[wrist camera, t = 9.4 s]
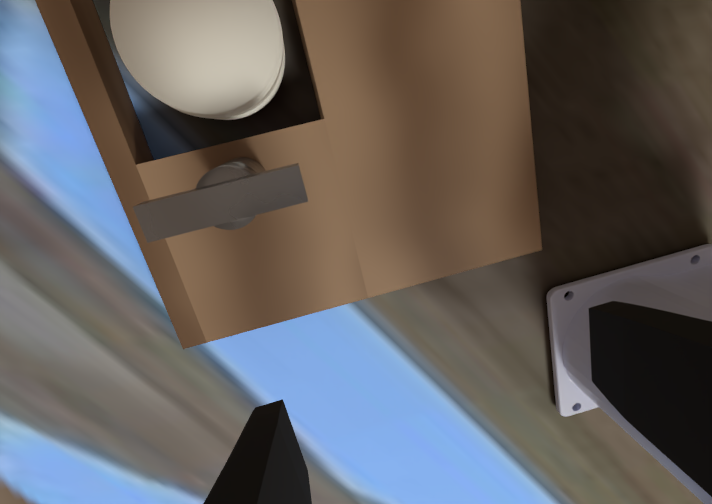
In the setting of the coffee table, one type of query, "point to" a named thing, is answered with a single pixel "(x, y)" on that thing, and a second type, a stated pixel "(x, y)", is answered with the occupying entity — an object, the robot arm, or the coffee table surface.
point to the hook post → (223, 199)
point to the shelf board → (339, 162)
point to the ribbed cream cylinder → (202, 53)
